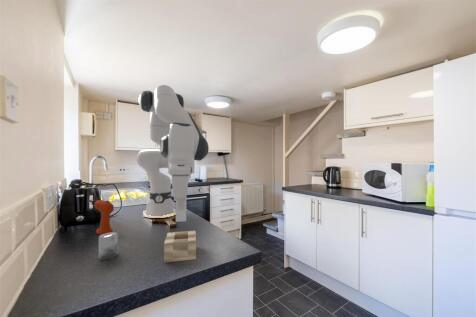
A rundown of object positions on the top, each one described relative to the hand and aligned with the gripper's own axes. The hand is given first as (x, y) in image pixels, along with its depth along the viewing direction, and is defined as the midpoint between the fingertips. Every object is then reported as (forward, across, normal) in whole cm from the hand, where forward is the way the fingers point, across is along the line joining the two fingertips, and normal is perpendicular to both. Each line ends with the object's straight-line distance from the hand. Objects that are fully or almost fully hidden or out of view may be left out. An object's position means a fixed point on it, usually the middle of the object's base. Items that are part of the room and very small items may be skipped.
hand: (181, 208), depth 70 cm
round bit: (+16, -4, -24) cm, 29 cm away
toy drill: (+16, -32, -38) cm, 52 cm away
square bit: (+4, 0, 0) cm, 4 cm away
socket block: (+16, 0, 0) cm, 16 cm away
